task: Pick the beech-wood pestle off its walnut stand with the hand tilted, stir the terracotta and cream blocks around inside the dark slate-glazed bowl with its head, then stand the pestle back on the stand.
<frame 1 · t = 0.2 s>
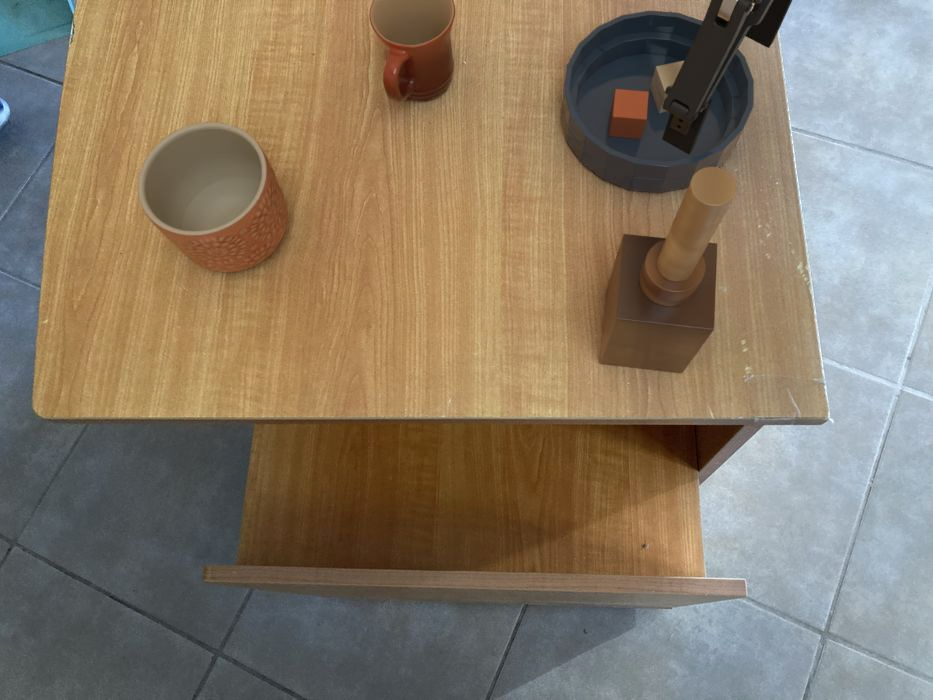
hand: (718, 90, 68), 14 cm above the table, tool pointing down, fingers open, 13 cm apart
cream block: (669, 97, 84), point 1 cm above the table, touching bowl
terracotta block: (625, 124, 83), point 1 cm above the table, touching bowl
mug: (417, 91, 87), on the table
planter: (240, 233, 82), on the table
bowl: (648, 118, 84), on the table
pestle: (667, 280, 65), point 12 cm above the table, touching stand
stand: (643, 330, 76), on the table
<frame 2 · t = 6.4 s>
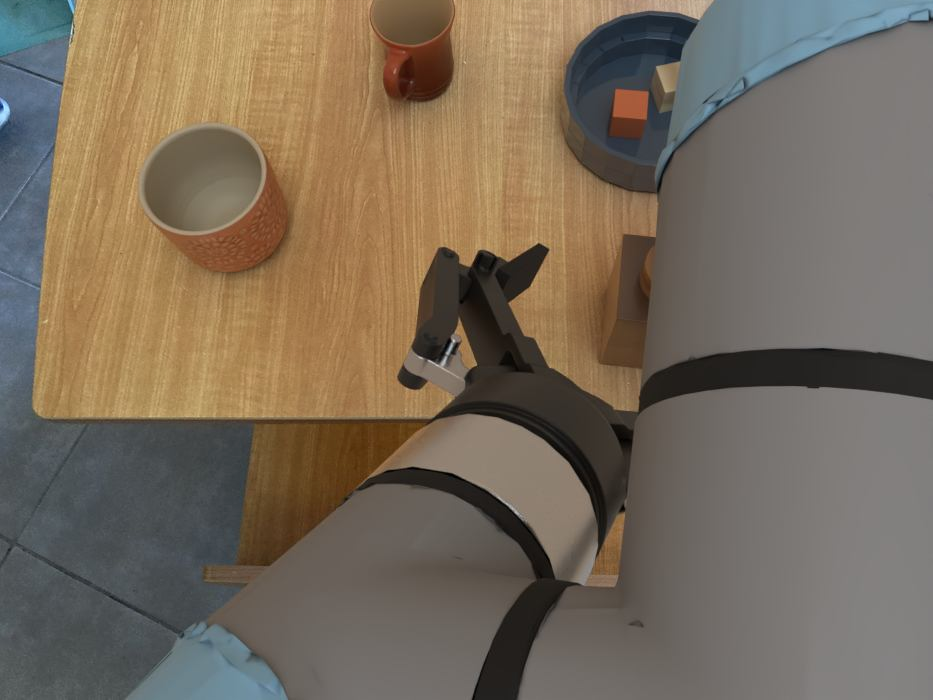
hand: (632, 325, 44), 30 cm above the table, tool tilted 45°, fingers open, 13 cm apart
nothing on the table moved.
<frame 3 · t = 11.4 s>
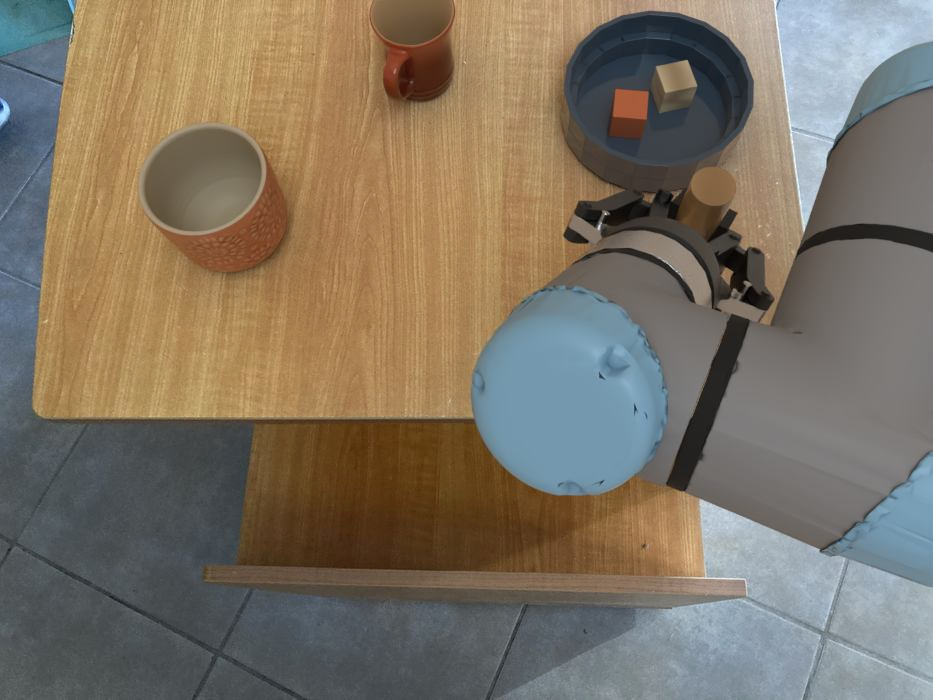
hand: (703, 215, 61), 17 cm above the table, tool tilted 45°, fingers closed on pestle, 3 cm apart
pestle: (667, 280, 65), point 12 cm above the table, touching gripper, stand
everything else where it was.
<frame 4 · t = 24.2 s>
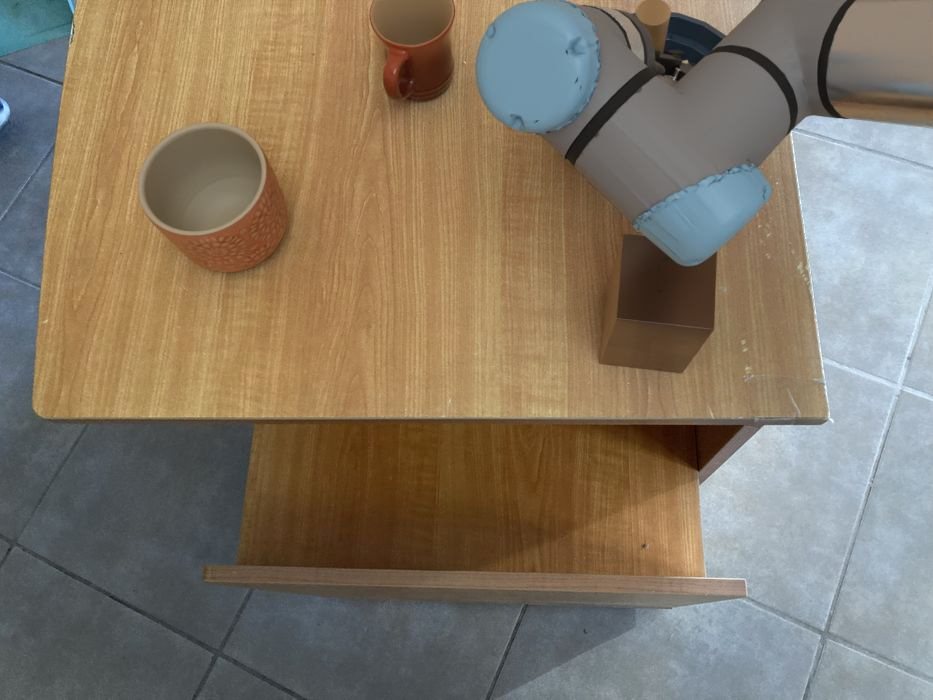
hand: (657, 56, 77), 8 cm above the table, tool tilted 45°, fingers closed on pestle, 3 cm apart
terracotta block: (596, 116, 84), point 1 cm above the table, touching bowl, pestle
pestle: (635, 119, 81), point 2 cm above the table, touching gripper, terracotta block
everything else where it was.
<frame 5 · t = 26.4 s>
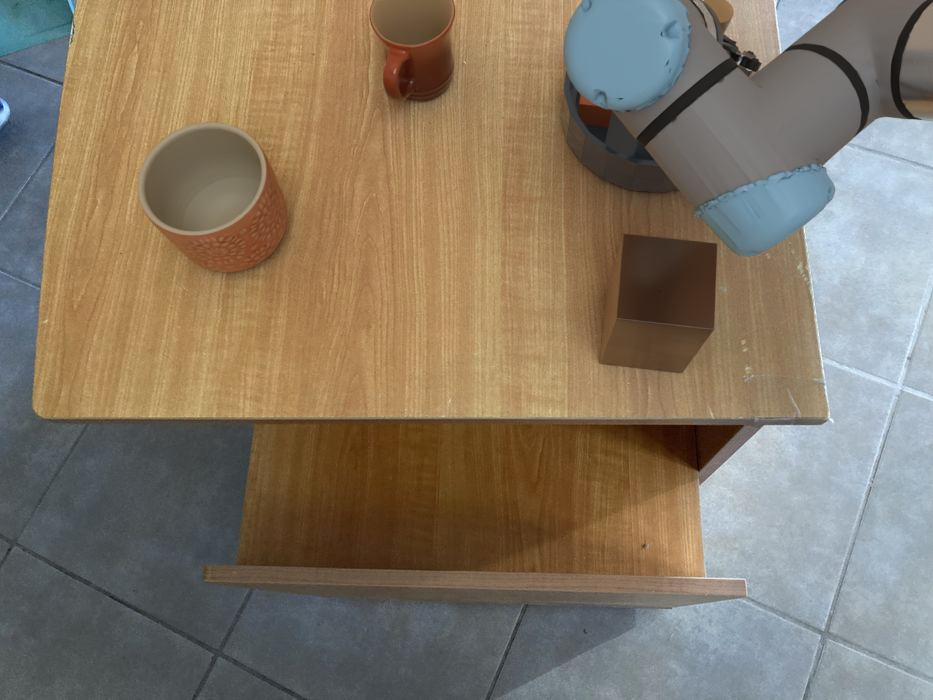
hand: (709, 46, 78), 7 cm above the table, tool tilted 45°, fingers closed on pestle, 3 cm apart
cream block: (694, 96, 84), point 1 cm above the table, touching bowl
terracotta block: (594, 112, 84), point 1 cm above the table, touching bowl
pestle: (665, 118, 82), point 2 cm above the table, tilted 7°, touching gripper
everything else where it was.
when the fingers open (18 cm above the table, at t = 38.3 s): pestle stays where it is, resting on stand.
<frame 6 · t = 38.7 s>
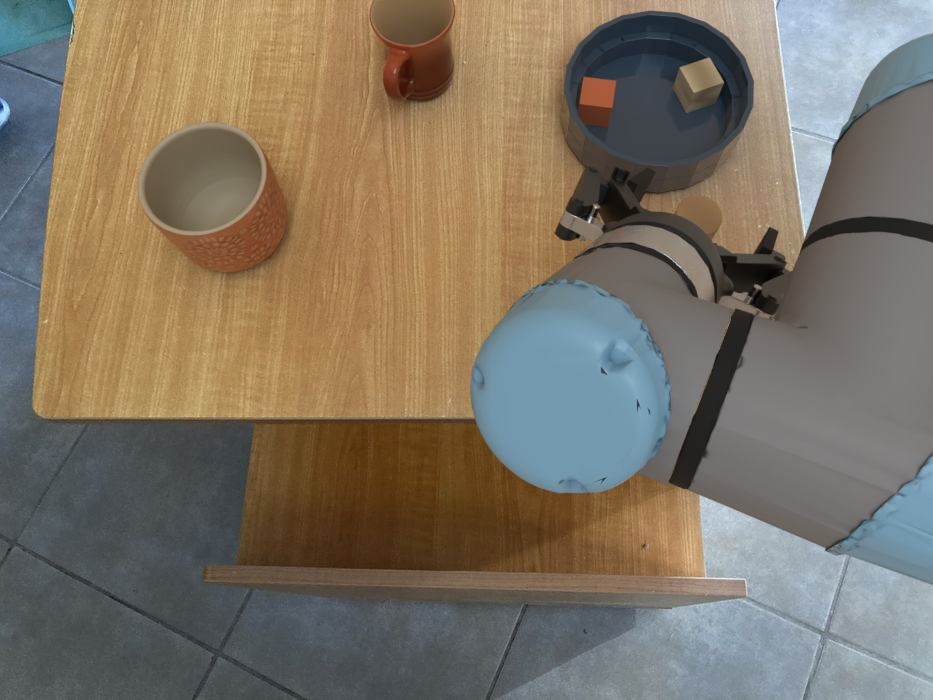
hand: (703, 214, 59), 18 cm above the table, tool tilted 45°, fingers open, 10 cm apart
pestle: (656, 299, 64), point 12 cm above the table, touching stand
everything else where it was.
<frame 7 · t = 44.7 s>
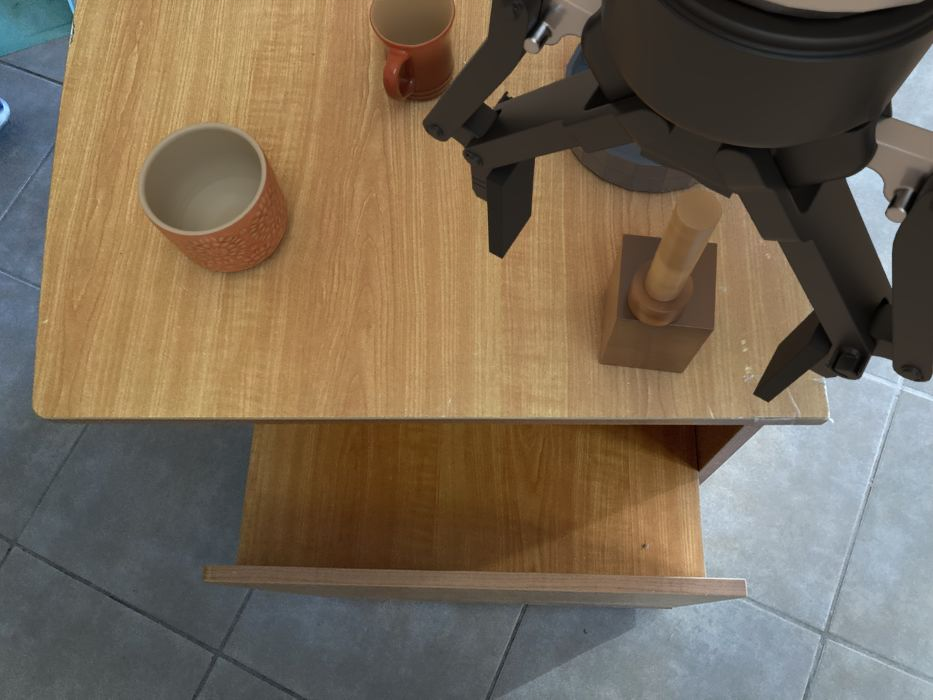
hand: (636, 301, 35), 39 cm above the table, tool pointing down, fingers open, 13 cm apart
nothing on the table moved.
at the end: terracotta block moved 3.7 cm from its start; terracotta block inside the target area in the bowl (6.0 cm from its centre), point 0.6 cm above the bowl's base; pestle tilted 0° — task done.
